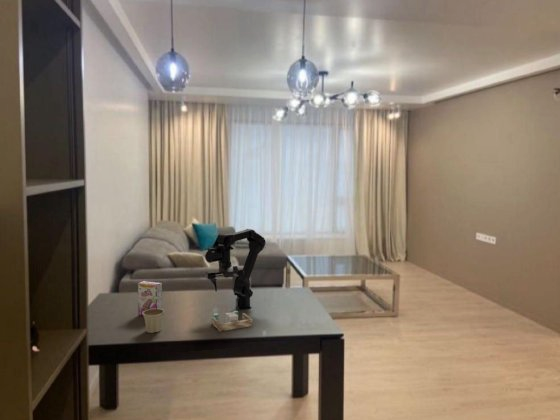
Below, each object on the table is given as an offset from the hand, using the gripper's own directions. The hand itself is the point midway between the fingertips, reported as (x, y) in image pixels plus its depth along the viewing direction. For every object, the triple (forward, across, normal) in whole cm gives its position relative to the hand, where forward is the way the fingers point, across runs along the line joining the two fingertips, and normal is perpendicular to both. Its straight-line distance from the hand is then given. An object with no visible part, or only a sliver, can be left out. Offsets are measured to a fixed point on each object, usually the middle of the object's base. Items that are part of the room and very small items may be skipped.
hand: (224, 290), depth 214 cm
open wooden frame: (+12, -2, -16) cm, 20 cm away
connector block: (+12, -2, -16) cm, 20 cm away
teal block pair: (+12, -2, -7) cm, 14 cm away
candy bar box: (+12, -34, +14) cm, 39 cm away
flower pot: (+12, -36, -8) cm, 39 cm away
